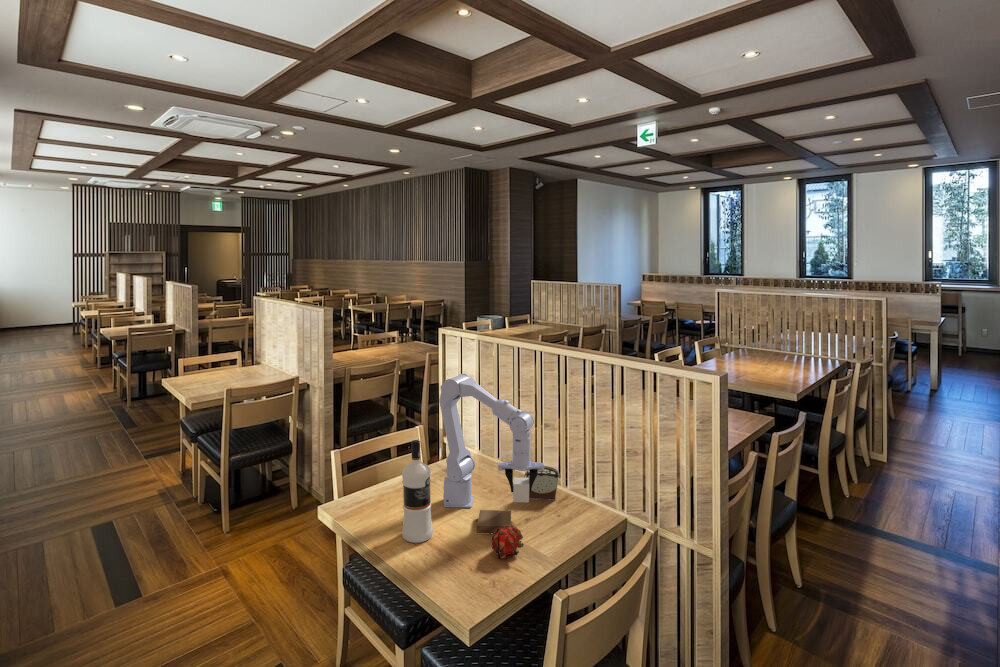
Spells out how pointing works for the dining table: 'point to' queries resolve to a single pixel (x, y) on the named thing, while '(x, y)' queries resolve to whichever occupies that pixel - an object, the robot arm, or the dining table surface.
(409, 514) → the vodka
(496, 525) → the block
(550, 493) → the food container
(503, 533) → the dragon fruit
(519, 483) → the ceramic block
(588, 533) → the dining table surface
